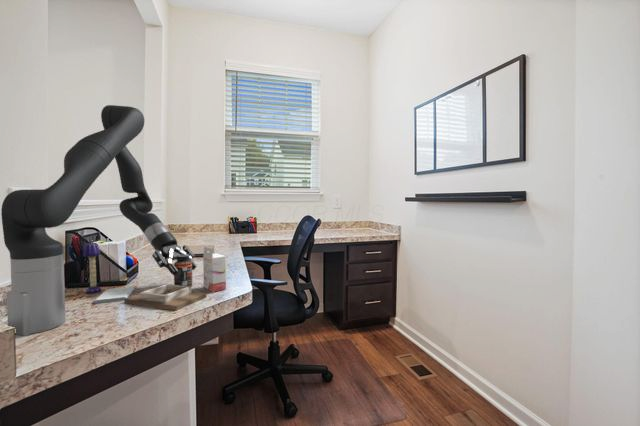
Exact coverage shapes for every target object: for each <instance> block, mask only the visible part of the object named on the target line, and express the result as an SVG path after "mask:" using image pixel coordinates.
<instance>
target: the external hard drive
mask: <svg viewBox="0 0 640 426" xmlns="http://www.w3.org/2000/svg"><path fill="white" fill-rule="evenodd" d="M134 290H135V287H134V286H127V287H119V288H110V289H109V288H108V289H106V290H105V291H103V292H102V293H101V294H100V295H99V296H98V297H97V298H95V300H94V301H93V304H96V305H97V304H104V303H105V304H106V303H113V302H122V301H124V299H125V298H128V297H131V294H132V293H133V292H134ZM124 302H125V301H124Z"/></svg>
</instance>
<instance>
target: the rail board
mask: <svg viewBox="0 0 640 426" xmlns="http://www.w3.org/2000/svg"><path fill="white" fill-rule="evenodd" d="M205 298H207V293H205V292H204V293H203V292H196V291H192V286H191V287H189V286H180V285H174V284H171V283H167V284H162V285H160V286H157V287H153V288H150V289H146V290H144V291H141V292H139V293H138V294H135V295H130V296H129V297H128V298H125V299H124V303H125V304H131V305H139V306H145V307H150V308H151V307H153V308H158V309H166V310H170V311H179V310H181V309H183V308H185V307H187V306H190V305H192V304H194V303H197V302H199V301H202V300H203V299H205Z"/></svg>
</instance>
